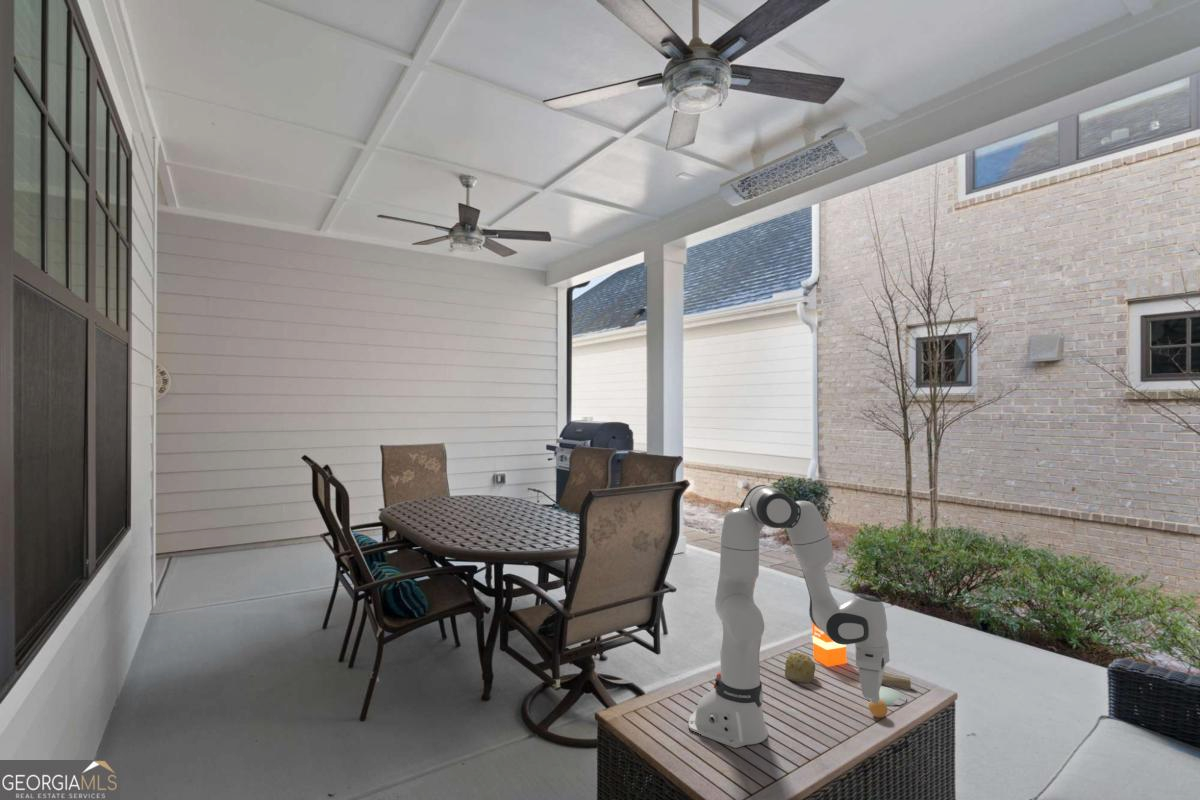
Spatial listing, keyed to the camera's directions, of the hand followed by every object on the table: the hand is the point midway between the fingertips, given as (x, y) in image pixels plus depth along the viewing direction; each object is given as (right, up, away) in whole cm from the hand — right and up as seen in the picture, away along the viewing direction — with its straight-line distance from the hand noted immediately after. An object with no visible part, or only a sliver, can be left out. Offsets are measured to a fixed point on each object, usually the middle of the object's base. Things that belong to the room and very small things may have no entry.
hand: (875, 701), depth 154 cm
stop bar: (+18, -10, +28) cm, 35 cm away
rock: (-9, -11, +34) cm, 37 cm away
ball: (+5, -6, +8) cm, 11 cm away
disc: (+13, -10, +20) cm, 26 cm away
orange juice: (+7, -12, +47) cm, 49 cm away
